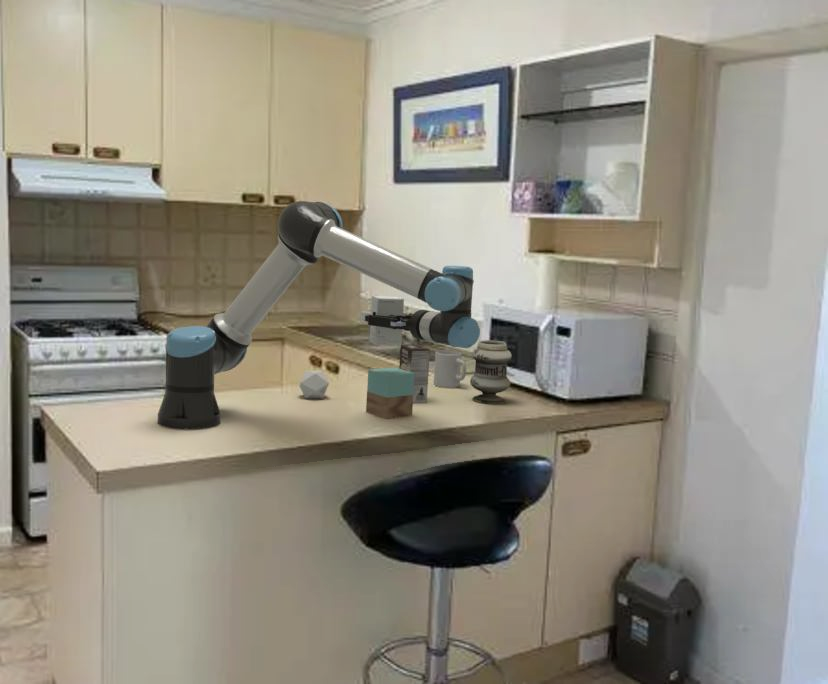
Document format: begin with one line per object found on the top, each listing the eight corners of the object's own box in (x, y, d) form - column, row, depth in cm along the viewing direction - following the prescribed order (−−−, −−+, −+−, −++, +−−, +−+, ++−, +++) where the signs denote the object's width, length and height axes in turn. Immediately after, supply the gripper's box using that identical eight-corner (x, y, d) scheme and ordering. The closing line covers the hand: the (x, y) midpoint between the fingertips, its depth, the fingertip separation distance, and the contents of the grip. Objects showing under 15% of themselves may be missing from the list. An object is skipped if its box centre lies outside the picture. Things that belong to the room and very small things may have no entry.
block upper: (387, 397, 234) (388, 375, 233) (367, 391, 241) (368, 369, 240) (413, 394, 240) (414, 373, 239) (393, 388, 247) (394, 367, 246)
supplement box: (375, 345, 231) (376, 297, 229) (369, 341, 238) (371, 295, 236) (402, 346, 233) (404, 298, 231) (395, 342, 240) (397, 295, 238)
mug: (428, 384, 287) (430, 351, 286) (445, 382, 293) (447, 349, 292) (455, 391, 279) (457, 356, 277) (473, 388, 285) (475, 355, 284)
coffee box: (396, 396, 265) (399, 344, 263) (416, 396, 267) (419, 344, 265) (407, 403, 257) (410, 348, 254) (428, 402, 259) (431, 348, 257)
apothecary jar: (465, 402, 262) (469, 342, 260) (472, 395, 274) (476, 337, 272) (506, 406, 260) (510, 346, 257) (511, 399, 271) (515, 341, 269)
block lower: (385, 419, 235) (387, 397, 234) (365, 412, 242) (367, 391, 241) (412, 416, 241) (413, 394, 240) (391, 409, 248) (392, 388, 247)
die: (319, 404, 252) (337, 376, 255) (293, 388, 251) (311, 360, 254) (316, 408, 260) (333, 381, 263) (291, 392, 259) (309, 365, 262)
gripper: (393, 343, 214) (342, 331, 232) (461, 338, 228) (408, 328, 245) (395, 312, 213) (343, 302, 231) (463, 310, 227) (409, 301, 244)
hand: (376, 315), depth 238 cm, fingers closed on supplement box, 9 cm apart
